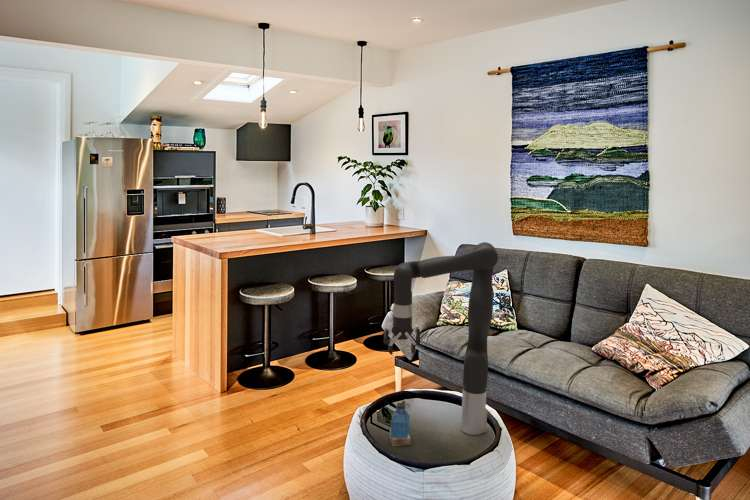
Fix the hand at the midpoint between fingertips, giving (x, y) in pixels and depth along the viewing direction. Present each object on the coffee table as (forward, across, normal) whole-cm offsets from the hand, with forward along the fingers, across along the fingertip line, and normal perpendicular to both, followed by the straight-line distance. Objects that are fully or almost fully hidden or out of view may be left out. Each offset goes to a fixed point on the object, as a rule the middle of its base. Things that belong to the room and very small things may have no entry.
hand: (401, 353), depth 216 cm
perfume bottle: (+27, +2, +13) cm, 30 cm away
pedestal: (+30, +2, +13) cm, 33 cm away
